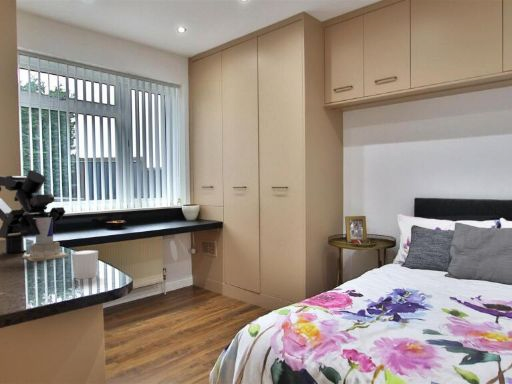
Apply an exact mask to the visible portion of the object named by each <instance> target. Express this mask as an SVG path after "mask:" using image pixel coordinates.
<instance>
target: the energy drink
mask: <svg viewBox="0 0 512 384" xmlns="http://www.w3.org/2000/svg"><path fill="white" fill-rule="evenodd" d="M35 224H36V226H37V228H38V230H39V232H40V234H39V235H36V234H35V243H36V245H49V244H53V242H54V233H53V219H52V217H43V218H36V219H35Z"/></svg>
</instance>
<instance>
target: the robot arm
mask: <svg viewBox="0 0 512 384" xmlns="http://www.w3.org/2000/svg"><path fill="white" fill-rule="evenodd" d="M45 181H46V177H45V176H44V175H43V174H41V173H39V172H37V171H36V170H34V169H33V170H31V169H30V170H28V173H27V175H8V176H7V175H3V174H2V175H1V174H0V192H2V187H4V189H6V190H7V191H10V192H16V193H15V196H14V198H13V201H14V202H19V204H20V206H21V208H20V209H12V208H10V206H9V205H8V204H7V203H6V202H5V201H4V199H2V198H1V197H0V220H1V221H2V224H1V227H0V238H1V239H5V242H4V243H5V245H4V246H5V248H4V249H5V250H2V253H3V254H6V255H11V254H19V253H27V250H26V249H24V236H25V237H26V236H29V234H30V232H31V233H33V234H35V236H36V235H39V234H40V232H39V230H38V228H37V226H36V222H35V221H34V220H36V218H43V217H52V219H53V234H55V233H56V222H60V221H61V220H62V218H63V216H65V213H66V210H65V208H64V207H62V206H59V207H58V206H57V207H52V208H51V209H50V211H45V210H47V209H48V205H50V204H52V203H54V202H55V196H54V195H53V194H52V193H46V194H37V195H36V193H39V192H40V190H41V188H42V186H43V185H44V183H45Z"/></svg>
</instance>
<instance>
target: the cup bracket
mask: <svg viewBox="0 0 512 384" xmlns="http://www.w3.org/2000/svg"><path fill="white" fill-rule="evenodd" d="M60 244H61V243H60V242H59V241H53V244H49V245H36V242H33V243H30V244H29V253H28V254H22V258H23V259H25V260H28V261H30V262H33V263H36V262H43V261H48V260H54V259H60V258H67V257H68V256H69V255H68V253H65V252H62V251H60V250H61V249H60Z"/></svg>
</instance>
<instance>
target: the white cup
mask: <svg viewBox="0 0 512 384" xmlns="http://www.w3.org/2000/svg"><path fill="white" fill-rule="evenodd" d="M98 257H99V251H98V250H95V249H87V250H86V249H85V250H77V251H73V252H71V262H72V268H73V269H72V270H73V277H74V279H77V280H85V279H91V278H94V277H96V276H97V274H98V273H97V272H98V261H99V258H98Z"/></svg>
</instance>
